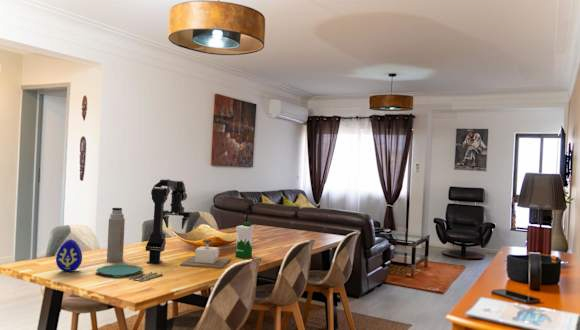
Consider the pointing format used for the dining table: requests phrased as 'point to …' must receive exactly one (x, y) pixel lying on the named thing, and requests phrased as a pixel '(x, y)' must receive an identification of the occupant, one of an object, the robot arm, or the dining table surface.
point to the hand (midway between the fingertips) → (174, 228)
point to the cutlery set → (124, 271)
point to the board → (218, 264)
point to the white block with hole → (206, 254)
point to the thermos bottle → (115, 236)
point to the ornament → (69, 256)
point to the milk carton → (244, 240)
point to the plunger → (207, 242)
